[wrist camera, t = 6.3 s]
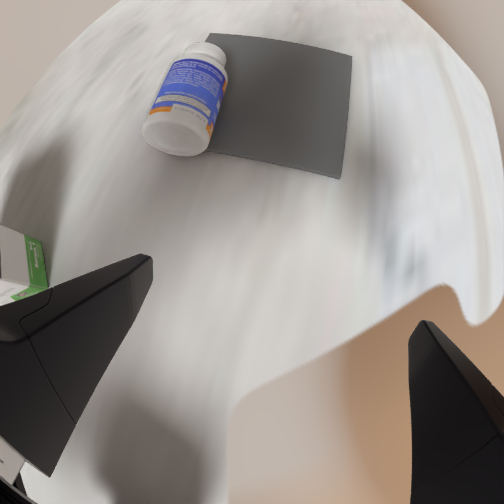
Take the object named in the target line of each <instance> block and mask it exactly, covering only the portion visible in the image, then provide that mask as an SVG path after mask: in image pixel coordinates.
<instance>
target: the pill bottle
mask: <svg viewBox="0 0 504 504" xmlns="http://www.w3.org/2000/svg"><path fill="white" fill-rule="evenodd" d="M225 64H226V56H225V54H224V52H223V51H222V50H221V49H220V48H219V47H218V46H216V45H214V44H211V43H207V42H198V43H194V44H192V45H190V46H189V47H187V49H186V50H185V52H184V53H183V55H182V56H180V57H178V58H176V59H175V60H174V61H173V62H172V63H171V64H170V65H169V67H168V69H167V71H166V73H165V75H164V77H163V79H162V82H161V84H160V86H159V88H158V90H157V92H156V94H155V97H154V99H153V101H152V103H151V106H150V108H149V110H148V112H147V115H146V117H145V119H144V122H143V124H142V128H141V131H142V135H143V137H144V139H145V140H146V142H147V143H148V144H150V145H151V146H152V147H154V148H156V149H158V150H160V151H162V152H165V153H168V154H172V155H177V156H194V155H198V154H200V153H202V152H203V151H205V150H206V148H207V147H208V144H209V142H210V139H211V135H212V132H213V128H214V125H215V122H216V118H217V115H218V112H219V108H220V105H221V102H222V99H223V96H224V93H225V90H226V86H227V82H228V77H227V73H226V71H225V69H224V67H225Z"/></svg>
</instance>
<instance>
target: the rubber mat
mask: <svg viewBox="0 0 504 504" xmlns="http://www.w3.org/2000/svg"><path fill="white" fill-rule="evenodd" d="M205 42H207V43H211V44H214V45H216V46H218V47H219V48H220V49H221V50H222V51H223V52H224V54H225V56H226V64H225V67H224V69H225V71H226V73H227V77H228V82H227V86H226V90H225V93H224V96H223V99H222V102H221V105H220V108H219V112H218V115H217V118H216V122H215V125H214V128H213V132H212V135H211V139H210V142H209V144H208V147H207V148H206V150H205V151H210V152H216V153H222V154H228V155H233V156H238V157H244V158H249V159H254V160H259V161H264V162H269V163H273V164H278V165H282V166H287V167H291V168H296V169H300V170H304V171H308V172H312V173H317V174H321V175H324V176H328V177H332V178H336V179H340V177H341V172H342V164H343V156H344V148H345V139H346V130H347V120H348V109H349V97H350V84H351V69H352V56H349V55H346V54H342V53H338V52H334V51H330V50H326V49H322V48H317V47H313V46H308V45H303V44H298V43H292V42H287V41H281V40H274V39H267V38H260V37H252V36H242V35H231V34H218V33H210V34H209V36H208V38H207V39H206V41H205Z"/></svg>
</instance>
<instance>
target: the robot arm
mask: <svg viewBox="0 0 504 504" xmlns="http://www.w3.org/2000/svg"><path fill="white" fill-rule="evenodd" d="M152 281H153V260H152V257H151V256H148V255H144V254H138V255H135V256H132V257H129V258H127V259H124V260H121V261H119V262H116V263H113V264H111V265H108V266H105V267H103V268H100V269H98V270H95V271H92V272H90V273H87V274H85V275H82V276H79V277H77V278H74V279H72V280H69V281H67V282H64V283H62V284H59V285H57V286H54V287H53V288H49V289H47V290H44V291H42V292H39V293H36V294H34V295H31V296H29V297H26V298H23V299H20V300H17V301H14V302H11V303H8V304H5V305H2V306H0V504H37V503H36V502H34V501H33V500H31V499H30V498H29V497H27V494H26V491H25V488H24V485H23V481H22V478H21V474H20V470H21V468H22V466H23V465H24V463H25V461H26V462H27V463H29V464H30V465H32V466H33V467H34V468H36V469H37V470H39V471H40V472H42V473H43V474H45V475H46V476H48V477H51V475H52V473H53V471H54V469H55V467H56V465H57V462H58V460H59V458H60V456H61V454H62V452H63V450H64V448H65V446H66V444H67V442H68V440H69V438H70V436H71V434H72V432H73V430H74V428H75V426H76V424H77V422H78V420H79V418H80V416H81V414H82V412H83V410H84V409H85V407H86V405H87V403H88V401H89V399H90V397H91V395H92V394H93V392H94V390H95V388H96V386H97V385H98V383H99V381H100V379H101V377H102V376H103V374H104V372H105V370H106V368H107V367H108V365H109V363H110V361H111V360H112V358H113V356H114V355H115V353H116V351H117V349H118V348H119V346H120V344H121V343H122V341H123V339H124V338H125V336H126V334H127V333H128V331H129V329H130V328H131V326H132V324H133V322H134V321H135V319H136V316H137V314H138V312H139V310H140V308H141V306H142V304H143V301H144V299H145V297H146V295H147V293H148V291H149V289H150V287H151V284H152ZM408 352H409V353H408V354H409V391H410V392H409V393H410V407H411V428H412V481H411V498H410V504H504V397H503V396H502V395H501V394H500V392H499V391H498V390H497V389H496V388H495V387H494V386H493V385H492V384H491V382H490V381H489V380H488V379H487V378H486V377H485V376H484V375H483V374H482V372H481V371H480V370H479V369H478V368H477V367H476V366H475V365H474V364H473V363H472V362H471V361H470V360H469V359H468V358H467V357H466V355H465V354H464V353H463V352H461V350H460V349H459V348H458V347H457V346H456V345H455V344H454V343H453V342H452V341H451V340H450V339H449V338H448V337H447V336H446V335H445V334H444V333H443V332H442V331H441V330H440V329H439V328H438V327H437V326H436V325H435V324H434V323H433V322H431V321H426V320H421V321H420V322H419V324H418V325H417V327H416V328H415V330H414V331H413V333H412V335H411V336H410V339H409V343H408Z"/></svg>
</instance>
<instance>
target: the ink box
mask: <svg viewBox="0 0 504 504" xmlns="http://www.w3.org/2000/svg"><path fill="white" fill-rule="evenodd" d="M47 289H48V284H47V277H46V270H45V264H44V257H43V251H42V245H41V242H40V241H38V240H36V239H33V238H31V237H28V236H26V235H24V234H21V233H19V232H16V231H14V230H12V229H9V228H7V227H5V226H3V225H0V306H2V305H5V304H8V303H11V302H14V301H17V300H20V299H23V298H26V297H29V296H31V295H34V294H36V293H39V292H42V291H44V290H47Z"/></svg>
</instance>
